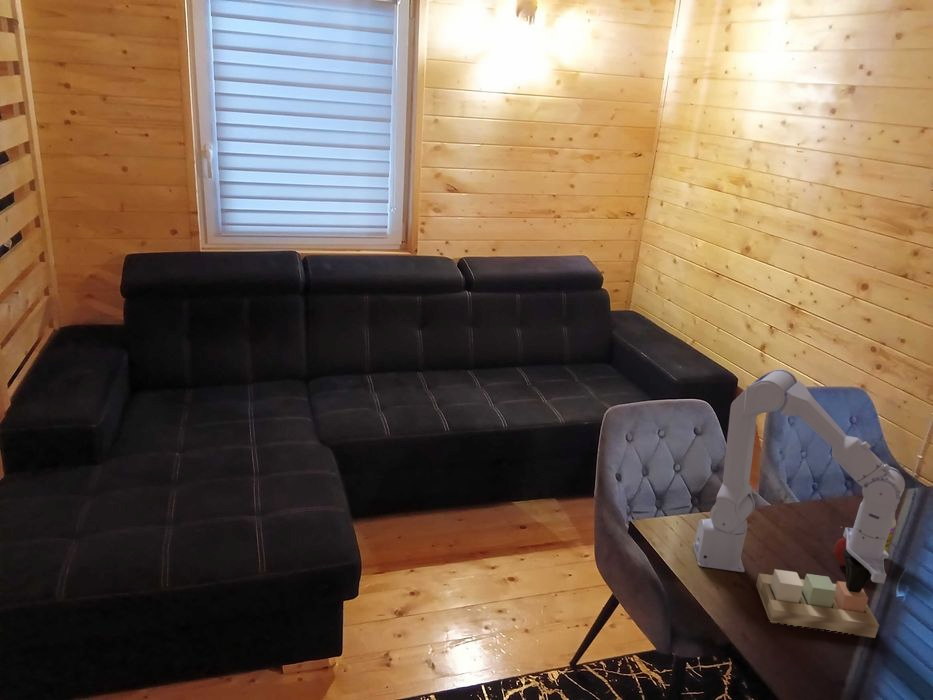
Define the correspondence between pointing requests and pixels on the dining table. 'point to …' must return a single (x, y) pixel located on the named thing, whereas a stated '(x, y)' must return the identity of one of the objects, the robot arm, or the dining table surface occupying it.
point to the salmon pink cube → (850, 598)
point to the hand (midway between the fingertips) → (852, 589)
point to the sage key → (818, 590)
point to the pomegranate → (840, 550)
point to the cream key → (786, 586)
